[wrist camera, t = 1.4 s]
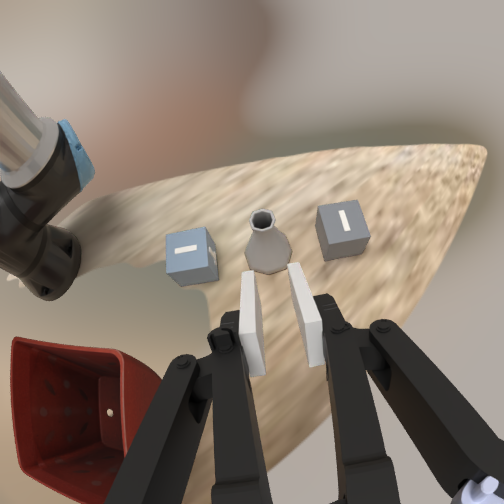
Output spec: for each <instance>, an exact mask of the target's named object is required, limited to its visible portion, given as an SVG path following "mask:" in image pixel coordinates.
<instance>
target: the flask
mask: <svg viewBox="0 0 504 504" xmlns="http://www.w3.org/2000/svg"><path fill="white" fill-rule="evenodd" d="M249 222H250V225H251V228H252V230H253V233H252V235H251V237H250V240H249V242H248V245H247V247H246V250H245V256H246V259H247V262H248V265H249V268H250V270H254V271H257V272H260V273H264V274H267V275H269V274H272V273H275V272H278V271H281V270H284V269H287V264H288V263H289V260H290V257H291V254H292V249H291V247H290V244H289V242H288V239H287V237H286V235H285V234H284V233H282V232H281V231H279V230H278V229H277V228H276V227H275V226H274V223H275V217H274V215H273V212H272V211H271V210H266V209H259V210H256V211H253V212H252V214H251V217H250V219H249Z"/></svg>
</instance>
